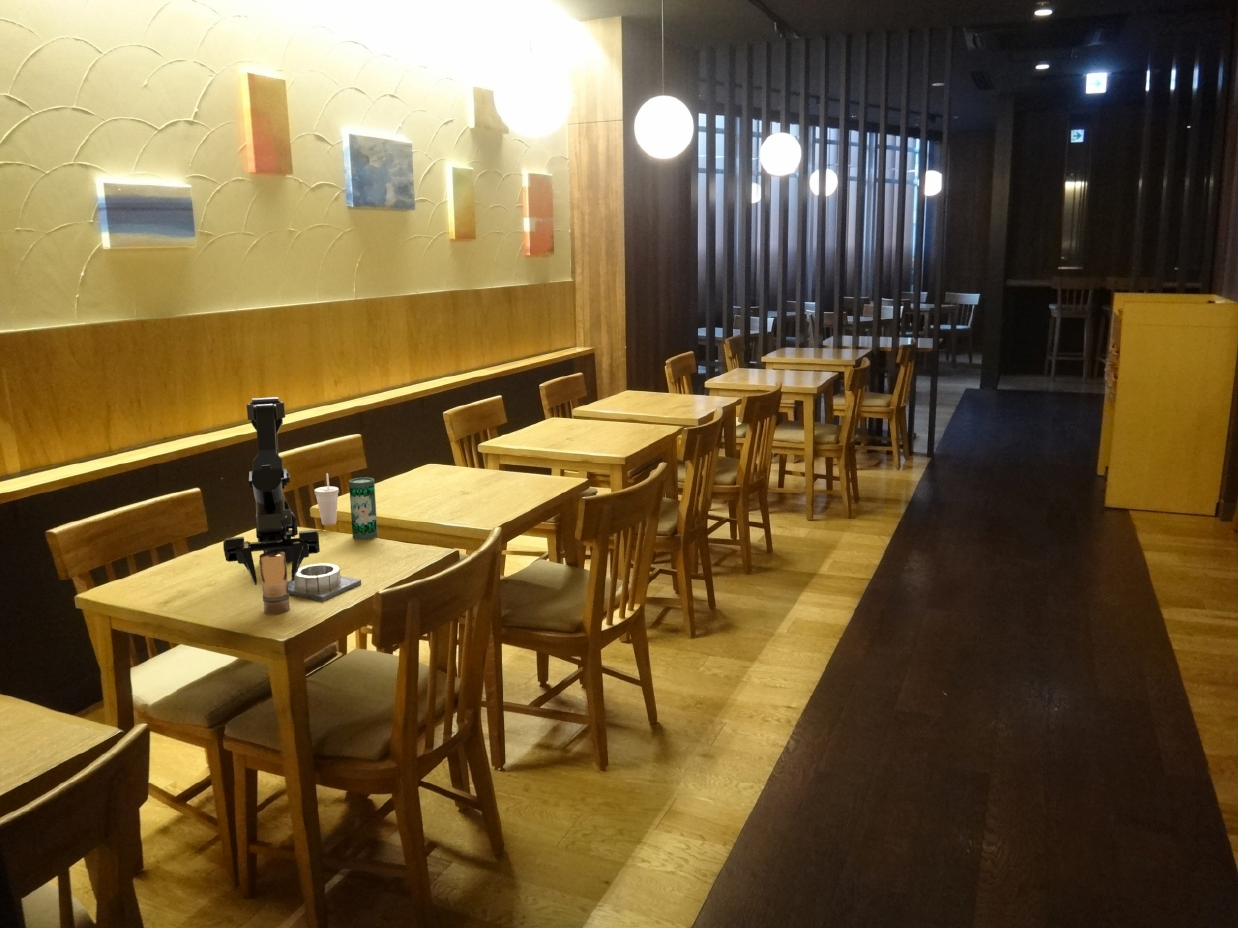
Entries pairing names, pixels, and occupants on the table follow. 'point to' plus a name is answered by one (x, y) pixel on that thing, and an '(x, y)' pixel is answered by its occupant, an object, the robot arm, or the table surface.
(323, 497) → the smoothie
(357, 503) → the can
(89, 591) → the table surface
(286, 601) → the tan cylinder
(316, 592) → the plate
